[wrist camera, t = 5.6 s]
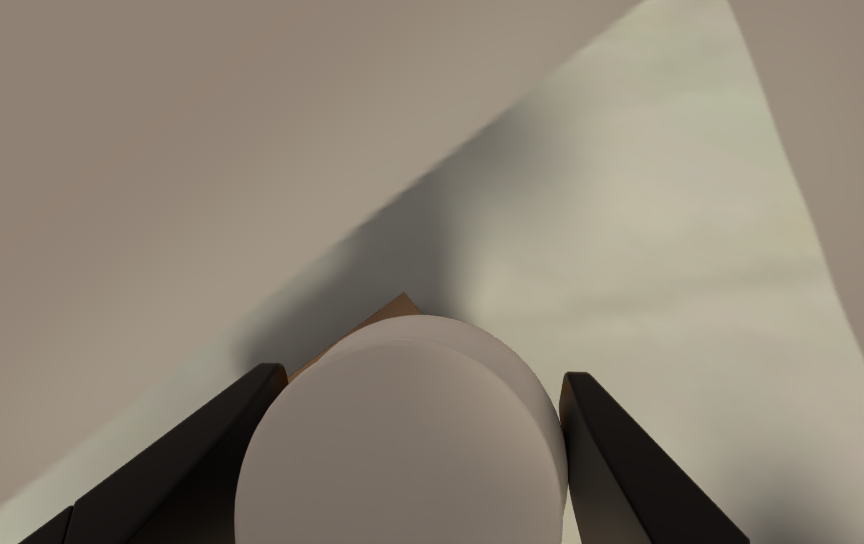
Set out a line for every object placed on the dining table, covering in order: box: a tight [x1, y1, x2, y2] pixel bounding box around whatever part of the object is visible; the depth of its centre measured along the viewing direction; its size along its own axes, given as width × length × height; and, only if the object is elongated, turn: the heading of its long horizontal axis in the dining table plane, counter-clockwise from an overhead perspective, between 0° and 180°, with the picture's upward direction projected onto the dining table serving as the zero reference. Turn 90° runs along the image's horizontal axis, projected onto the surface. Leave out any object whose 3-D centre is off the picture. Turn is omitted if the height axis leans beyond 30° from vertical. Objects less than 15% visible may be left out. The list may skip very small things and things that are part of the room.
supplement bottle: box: [234, 315, 568, 544], centre depth 10 cm, size 5×5×10 cm
